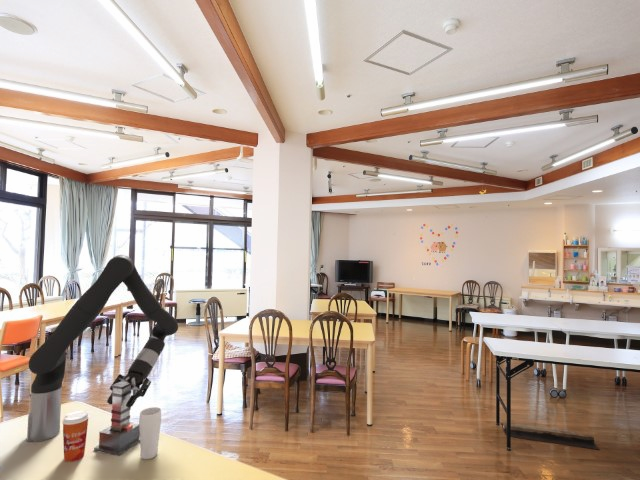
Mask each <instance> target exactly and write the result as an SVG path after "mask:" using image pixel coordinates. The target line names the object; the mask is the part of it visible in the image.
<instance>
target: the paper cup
mask: <svg viewBox="0 0 640 480" xmlns="http://www.w3.org/2000/svg"><path fill="white" fill-rule="evenodd" d="M90 417H91V415H90V414H89V412H88V411H86V410H77V411H72V412H70V413H68V414H65V416H64V417H63V420H62V421H61V423H62V434H63V435H62V438H63V460H64V462H66V463H73V462H77V461H79V460H81V459H82V458H83V457H84V456H85V451H86V450H85V449H86V441H87V432H88V425H89V419H90Z"/></svg>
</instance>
